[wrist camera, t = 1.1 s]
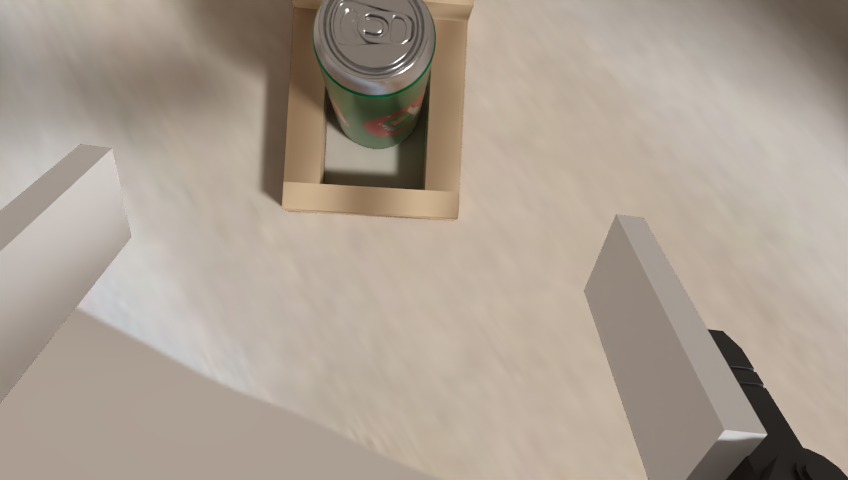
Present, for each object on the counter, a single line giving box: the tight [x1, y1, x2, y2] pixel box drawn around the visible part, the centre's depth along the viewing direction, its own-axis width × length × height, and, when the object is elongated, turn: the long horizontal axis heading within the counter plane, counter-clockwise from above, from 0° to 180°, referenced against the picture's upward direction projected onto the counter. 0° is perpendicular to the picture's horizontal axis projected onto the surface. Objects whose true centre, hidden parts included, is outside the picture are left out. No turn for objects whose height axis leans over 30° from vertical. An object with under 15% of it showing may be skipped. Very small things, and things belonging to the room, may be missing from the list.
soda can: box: [312, 0, 436, 149], centre depth 27 cm, size 5×5×12 cm
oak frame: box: [282, 0, 474, 221], centre depth 31 cm, size 10×13×4 cm
